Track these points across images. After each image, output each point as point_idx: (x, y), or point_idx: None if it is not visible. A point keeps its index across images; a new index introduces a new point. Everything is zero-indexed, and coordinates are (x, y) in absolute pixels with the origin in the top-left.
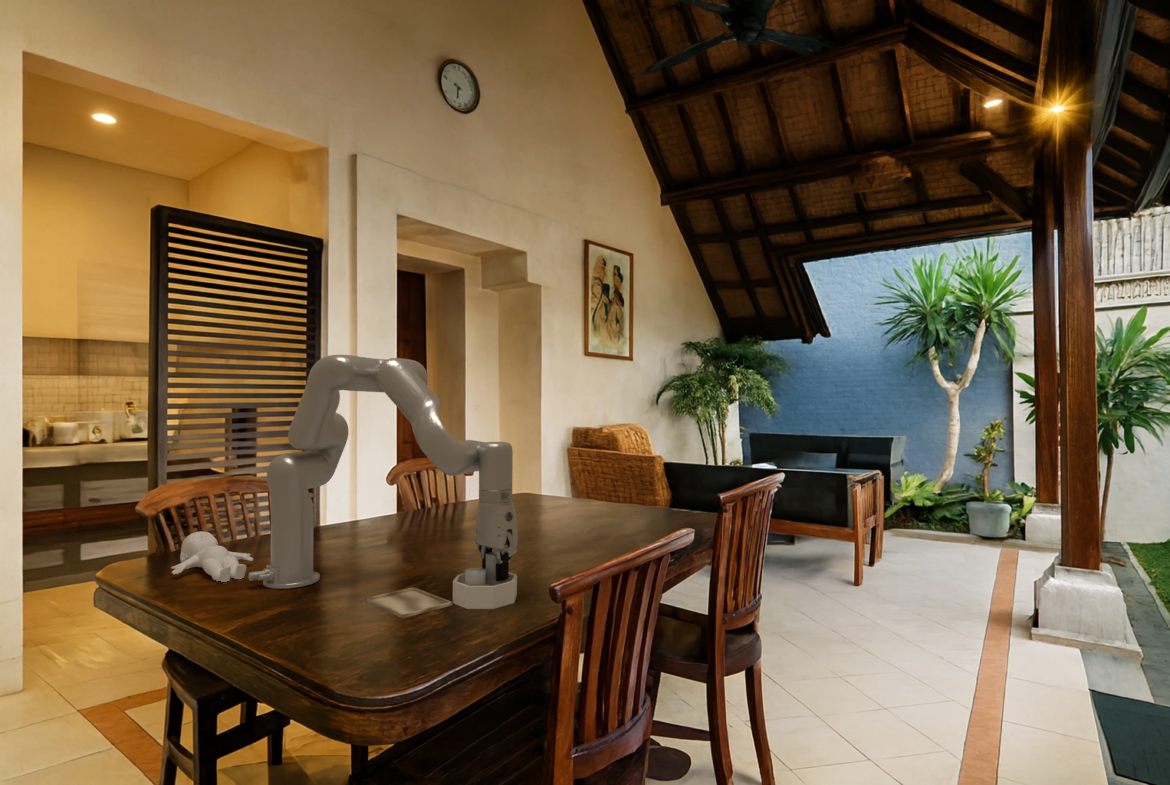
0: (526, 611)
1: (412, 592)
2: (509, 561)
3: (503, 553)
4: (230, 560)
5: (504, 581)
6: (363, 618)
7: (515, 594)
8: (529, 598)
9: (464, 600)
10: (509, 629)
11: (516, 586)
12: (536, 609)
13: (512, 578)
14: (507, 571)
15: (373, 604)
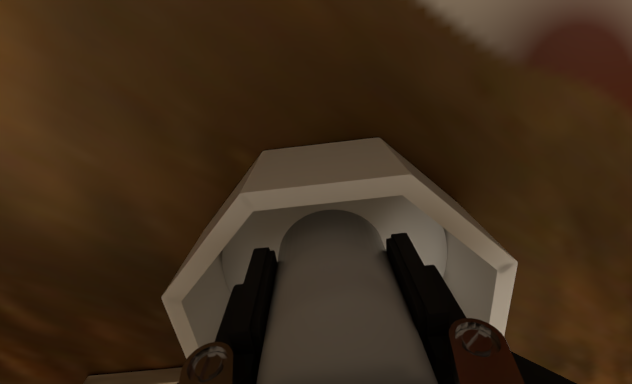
0: (557, 208)
1: None
2: (485, 326)
3: (395, 379)
4: None
5: (377, 232)
6: None
7: (433, 184)
8: (440, 99)
9: None
10: (621, 326)
11: (406, 164)
12: (577, 165)
13: (460, 239)
14: (444, 282)
15: None
